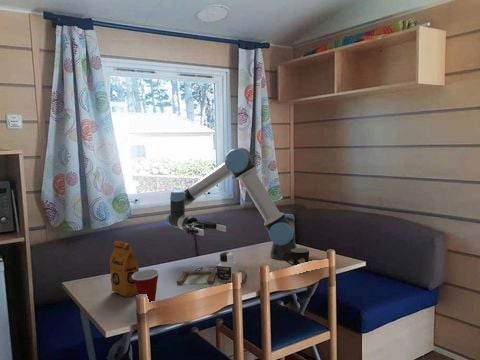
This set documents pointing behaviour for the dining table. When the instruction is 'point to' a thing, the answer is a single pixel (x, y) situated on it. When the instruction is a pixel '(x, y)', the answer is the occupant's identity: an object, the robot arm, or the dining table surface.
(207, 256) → the dining table surface
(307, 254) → the coffee mug
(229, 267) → the medicine bottle
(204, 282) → the wooden tray frame
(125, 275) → the coffee package
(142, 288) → the plastic cup
